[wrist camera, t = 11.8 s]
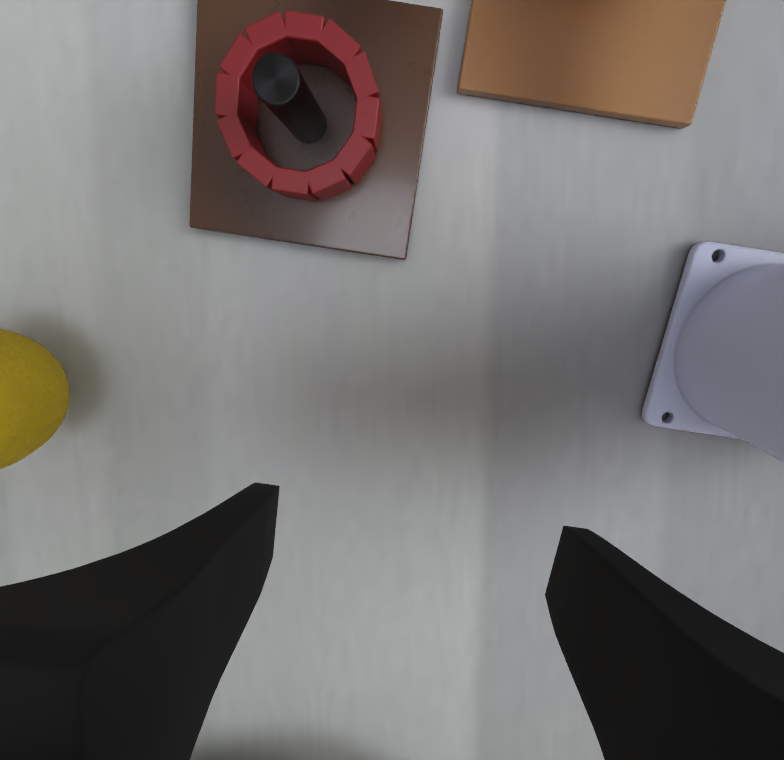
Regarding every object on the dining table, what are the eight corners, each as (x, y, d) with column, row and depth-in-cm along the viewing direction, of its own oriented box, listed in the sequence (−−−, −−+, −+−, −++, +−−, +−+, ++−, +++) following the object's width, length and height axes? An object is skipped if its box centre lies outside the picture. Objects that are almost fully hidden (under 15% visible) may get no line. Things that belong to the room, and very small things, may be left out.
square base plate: (442, 16, 18) (457, -86, 13) (405, 259, 20) (406, 261, 15) (204, -22, 18) (119, -140, 12) (195, 228, 20) (119, 218, 15)
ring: (390, 52, 18) (389, 24, 16) (370, 209, 19) (366, 204, 17) (241, 29, 18) (219, -2, 16) (232, 188, 19) (211, 180, 17)
